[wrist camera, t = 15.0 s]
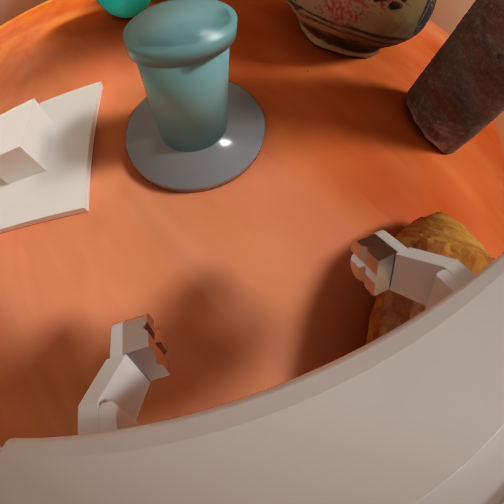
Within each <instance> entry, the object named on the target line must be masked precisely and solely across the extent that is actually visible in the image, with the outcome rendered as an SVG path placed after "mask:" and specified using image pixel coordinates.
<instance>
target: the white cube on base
mask: <svg viewBox="0 0 504 504" xmlns="http://www.w3.org/2000/svg"><path fill="white" fill-rule="evenodd" d="M102 90H103V86H102V84H101V82H97V83H94V84H91V85H87V86H84V87H81V88H78V89H75V90H73V91H70V92H67V93H64V94H62V95H59V96H56V97H54V98H51V99H49V100H46V101H44V102H42V103H39V104H38V103H37V101H36V100H35V99H31V100H29V101H27V102H25V103H23V104H21V105H19V106H17V107H15V108H13V109H11V110H9V111H7V112H5V113H3V114H1V115H0V233H3V232H7V231H10V230H14V229H18V228H21V227H25V226H29V225H33V224H36V223H40V222H44V221H48V220H53V219H57V218H61V217H65V216H70V215H74V214H79V213H83V212H88V211H89V193H90V176H91V164H92V154H93V145H94V137H95V130H96V123H97V117H98V111H99V105H100V100H101V95H102Z"/></svg>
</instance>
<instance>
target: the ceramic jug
mask: <svg viewBox="0 0 504 504" xmlns="http://www.w3.org/2000/svg"><path fill="white" fill-rule="evenodd" d="M286 2H287V4H288V5H289V6H290V7H291V9H292V10H293V11H294V12H295V14H296V15H297V17H298V19H299V24H300V27H301V29H302V31H303V32H304V33H305V35H306V36H307V37H308V38H309V39H310V40H311V41H312V42H313V43H314V44H315V45H317V46H319V47H322V48H325V49H329V50H332V51H335V52H338V53H340V54H344V55H348V56H356V57H363V58H368V57H371V56H373V55H375V54H377V53H378V52H379V51H380V48H384V47H389V46H394V45H397V44H400V43H402V42H405V41H407V40H409V39H411V38H412V37H414V36H415V35H417V34H418V33H419V32H420V31H421V30H422V29H423V28H424V27H425V25H426V23H427V22H428V20H429V18H430V16H431V14H432V12H433V10H434V7H435V3H436V0H286ZM307 71H308V70H307Z"/></svg>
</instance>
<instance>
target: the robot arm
mask: <svg viewBox="0 0 504 504" xmlns="http://www.w3.org/2000/svg"><path fill="white" fill-rule="evenodd" d="M351 251H352V252H353V255H352V257H351V259H350V266H351V270H352V272H353V274H354V276H355V277H356V278H357V279H358V280H360V281H363V282H364V287H365V288H366V289H367V290H368V291H369V292H370V293H371V294H372V295H373V296H376V295H378V294H380V293H382V292H384V291H386V290H389V289H390V290H391V291H393V292H396V293H398V294H400V295H402V296H405V297H407V298H409V299H411V300H414V301H416V302H418V303H420V304H423V305H425V306H426V309H425V311H423V312H421V313H420V314H418V315H417V316H415V317H413V318H412V319H410V320H408V321H407V322H405V323H403V324H402V325H400V326H398V327H397V328H395V329H393V330H391V331H390V332H388V333H386V334H384V335H383V336H381V337H379V338H377V339H375V340H374V341H372V342H370V343H368V344H366V345H364V346H362V347H360V348H358V349H356V350H355V351H353V352H351V353H349V354H347V355H345V356H343V357H340V358H338V359H336V360H334V361H332V362H330V363H328V364H326V365H324V366H321V367H319V368H317V369H315V370H312V371H310V372H308V373H306V374H303V375H301V376H299V377H296V378H294V379H291V380H289V381H286V382H284V383H281V384H279V385H276V386H274V387H271V388H268V389H266V390H263V391H260V392H258V393H255V394H252V395H249V396H246V397H243V398H241V399H238V400H235V401H232V402H228V403H225V404H222V405H219V406H216V407H212V408H209V409H206V410H202V411H199V412H195V413H191V414H188V415H184V416H180V417H176V418H172V419H168V420H163V421H159V422H154V423H150V424H145V425H142V424H141V423H139V422H138V421H137V417H138V415H139V412H140V409H141V406H142V404H143V401H144V398H145V396H146V393H147V391H148V388H149V385H150V383H151V382H150V381H153V380H156V379H159V378H162V377H166V376H169V375H170V369H169V362H168V360H167V358H166V357H165V354H166V352H167V349H166V344H165V341H164V338H163V336H162V333H161V332H160V330H159V328H156V327H154V320H153V319H152V317H151V316H150V315H149V314H146V315H143V316H139V317H136V318H132V319H129V320H126V321H123V322H120V323H116V324H113V325H112V327H111V339H110V358H109V359H106V361H105V363H104V364H103V366H102V367H101V369H100V371H99V372H98V374H97V375H96V377H95V379H94V380H93V382H92V384H91V385H90V387H89V389H88V390H87V392H86V394H85V395H84V397H83V399H82V400H81V402H80V404H79V406H78V435H72V436H59V437H42V438H10V439H8V440H7V441H6V442H5V444H4V445H3V446H2V448H1V449H0V504H504V252H503V253H502V254H501V255H500V256H498V257H497V258H496V259H495V260H494V261H492V262H491V263H490V264H489V265H487V266H486V267H485V268H484V269H482V270H481V271H480V272H479V273H477V274H476V275H475V274H474V273H473V272H471V271H470V270H469V269H468V268H467V267H466V266H464V265H463V264H462V263H461V262H459V261H458V260H456V259H453V258H449V257H445V256H442V255H438V254H434V253H430V252H427V251H423V250H419V249H415V248H411V247H410V248H406V247H405V246H404V245H403V244H401V243H400V242H399V241H398V240H396V239H395V238H394V237H393V236H391V235H390V234H389V233H387V232H386V231H385V230H379V231H377V232H374V233H372V234H370V235H368V236H365V237H363V238H360V239H357V240H355V241H352V244H351Z"/></svg>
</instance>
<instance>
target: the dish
mask: <svg viewBox="0 0 504 504" xmlns="http://www.w3.org/2000/svg"><path fill="white" fill-rule="evenodd" d="M264 134H265V120H264V115H263V112H262V110H261V108H260V106H259V104H258V103H257V101H256V100H255V98H254V97H253V96H252V95H251V94H250V93H249V92H247V91H246V90H245V89H243V88H242V87H240V86H238V85H237V84H234V83H232V82H230V81H228V110H227V128H226V131H225V133H224V135H223V136H222V137H221V139H220V140H219V141H218V142H216V143H215V144H214V145H212V146H210V147H208V148H206V149H204V150H200V151H195V152H183V151H178V150H175V149H173V148H171V147H169V146H168V145H167V144H166V143H165V142H164V141H163V139H162V138H161V135H160V133H159V130H158V127H157V124H156V121H155V118H154V115H153V112H152V109H151V106H150V103H149V100H148V97H146V98H145V99H144V100H143V101H142V102H141V103H140V104H139V105H138V107H137V108H136V109H135V111H134V112H133V114H132V116H131V118H130V120H129V122H128V126H127V129H126V136H125V141H126V149H127V152H128V155H129V158H130V159H131V161H132V163H133V165H134V166H135V168H136V169H137V171H138V172H139V173H140V174H141V175H142V176H143V177H144V178H145V179H146V180H147V181H149V182H151V183H152V184H154V185H156V186H158V187H160V188H163V189H166V190H170V191H175V192H184V193H193V192H202V191H207V190H211V189H215V188H218V187H221V186H223V185H225V184H227V183H229V182H231V181H233V180H234V179H236V178H237V177H239V176H240V175H241V174H243V173H244V172H245V171H246V170H247V169H248V168H249V167H250V166H251V165H252V163H253V162H254V161H255V159H256V158H257V156H258V154H259V152H260V149H261V147H262V143H263V139H264Z"/></svg>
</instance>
